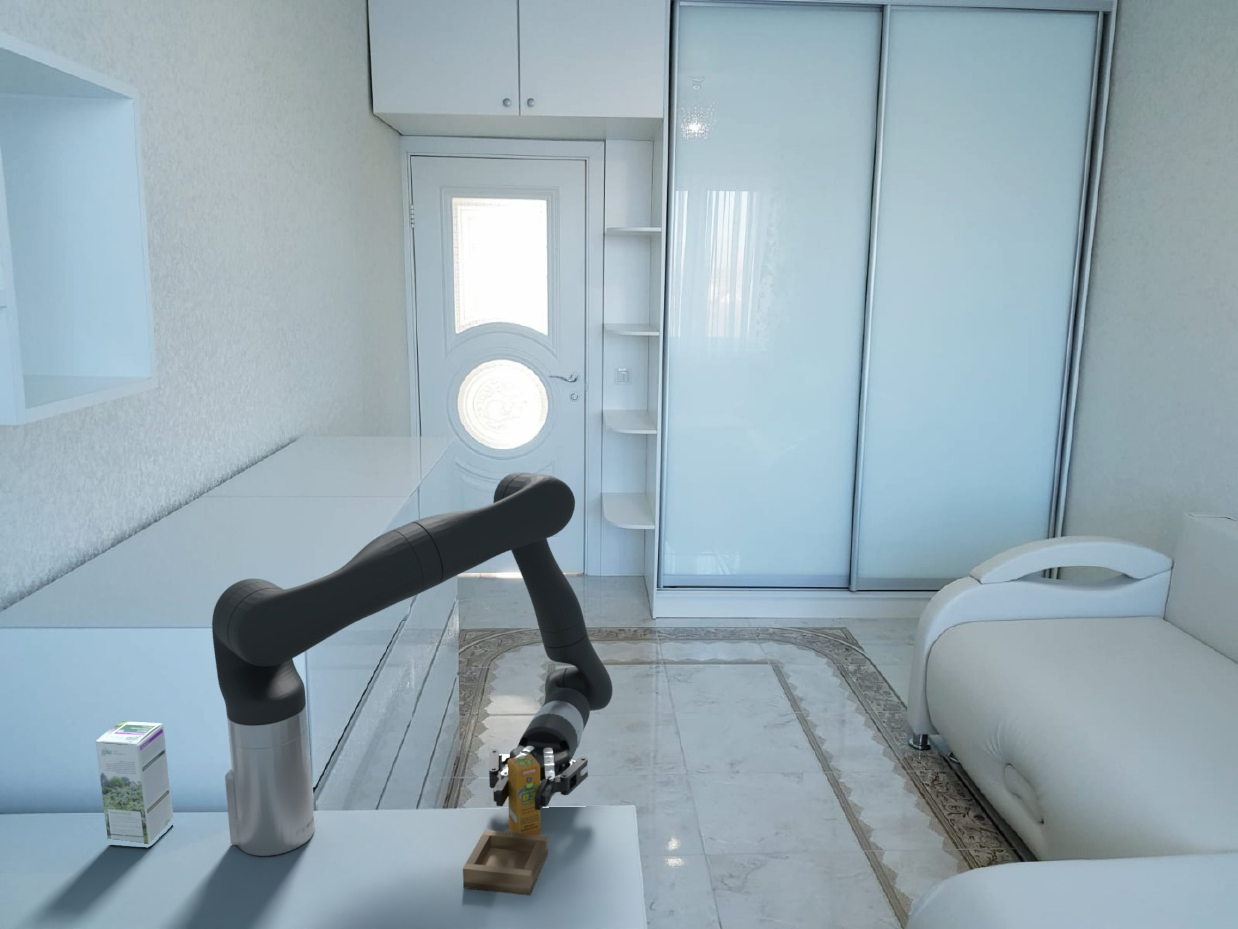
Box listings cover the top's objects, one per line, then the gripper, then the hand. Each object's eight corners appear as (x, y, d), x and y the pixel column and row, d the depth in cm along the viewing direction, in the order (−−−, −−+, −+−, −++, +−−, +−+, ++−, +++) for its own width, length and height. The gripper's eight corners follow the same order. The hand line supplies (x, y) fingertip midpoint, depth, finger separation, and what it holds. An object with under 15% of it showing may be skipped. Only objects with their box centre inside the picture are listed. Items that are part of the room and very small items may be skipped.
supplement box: (518, 843, 118) (515, 770, 116) (508, 830, 121) (505, 758, 119) (542, 836, 120) (540, 763, 118) (532, 823, 123) (530, 751, 121)
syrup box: (176, 824, 123) (165, 720, 120) (148, 851, 117) (137, 742, 114) (135, 822, 123) (123, 718, 121) (105, 848, 118) (93, 740, 115)
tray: (463, 888, 110) (462, 868, 109) (485, 848, 117) (484, 829, 117) (530, 895, 108) (529, 875, 108) (547, 854, 116) (547, 836, 115)
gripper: (503, 708, 134) (461, 768, 117) (601, 716, 131) (574, 778, 115) (504, 757, 135) (464, 823, 119) (602, 766, 133) (575, 835, 116)
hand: (518, 801), depth 117 cm, fingers closed on supplement box, 4 cm apart
